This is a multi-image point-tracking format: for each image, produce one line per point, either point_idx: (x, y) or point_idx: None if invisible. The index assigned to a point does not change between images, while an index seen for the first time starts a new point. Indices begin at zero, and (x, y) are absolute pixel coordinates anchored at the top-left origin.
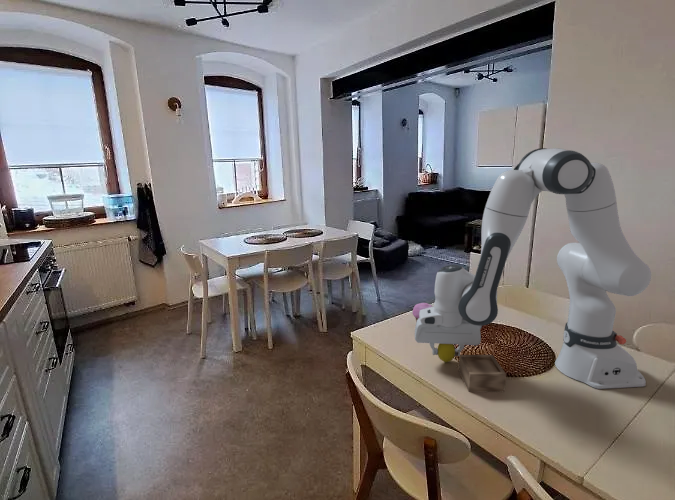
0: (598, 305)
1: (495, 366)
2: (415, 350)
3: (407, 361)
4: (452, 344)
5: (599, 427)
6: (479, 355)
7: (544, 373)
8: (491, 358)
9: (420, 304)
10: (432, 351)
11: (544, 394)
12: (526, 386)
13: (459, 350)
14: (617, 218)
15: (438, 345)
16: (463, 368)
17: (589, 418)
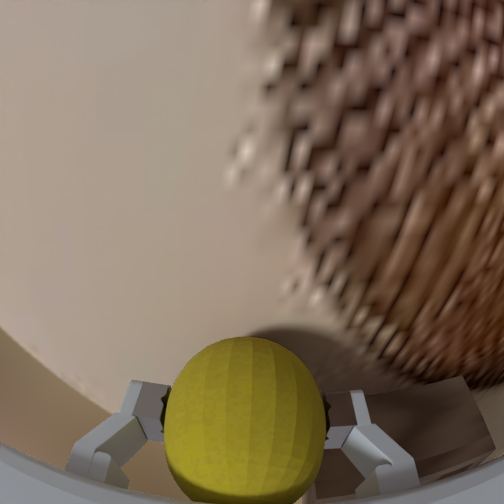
0: None
1: (443, 478)
2: (26, 203)
3: (26, 328)
4: (299, 497)
5: (491, 455)
6: (432, 475)
7: None
8: (466, 468)
9: None
10: (130, 386)
11: (499, 422)
12: (492, 411)
13: (351, 458)
14: None
15: (165, 454)
16: (307, 490)
17: (499, 445)
